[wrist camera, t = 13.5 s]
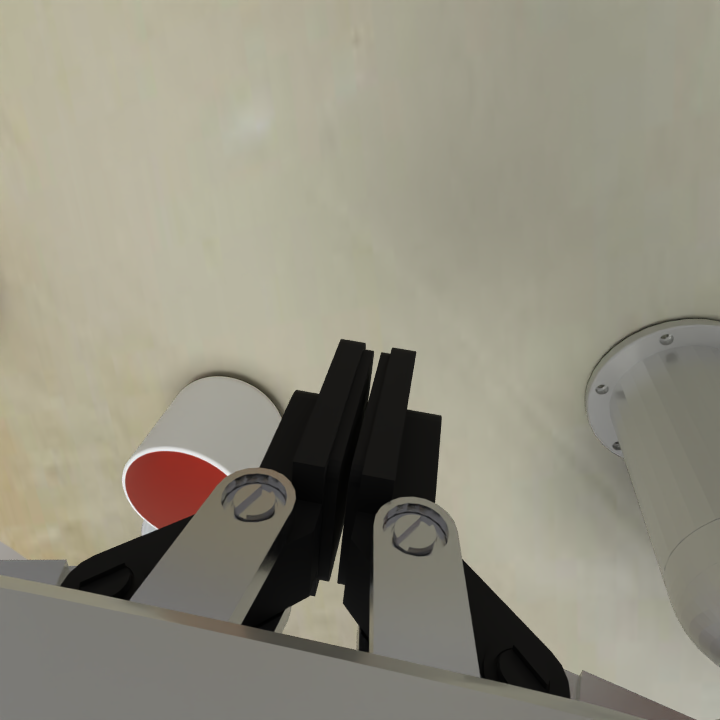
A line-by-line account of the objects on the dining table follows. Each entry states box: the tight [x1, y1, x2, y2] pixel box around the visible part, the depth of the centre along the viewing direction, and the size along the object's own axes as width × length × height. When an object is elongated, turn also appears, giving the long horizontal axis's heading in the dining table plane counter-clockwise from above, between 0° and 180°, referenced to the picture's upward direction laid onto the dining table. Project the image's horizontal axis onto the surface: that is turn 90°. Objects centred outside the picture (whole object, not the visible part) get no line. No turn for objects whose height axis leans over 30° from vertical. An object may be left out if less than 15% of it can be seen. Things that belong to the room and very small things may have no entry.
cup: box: [122, 376, 282, 529], centre depth 46 cm, size 10×10×10 cm
